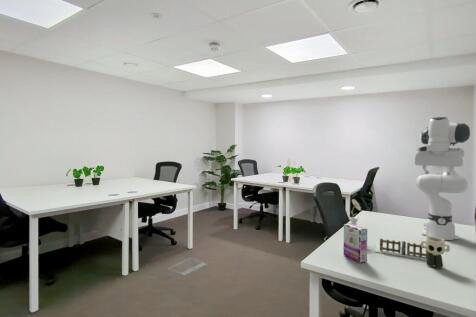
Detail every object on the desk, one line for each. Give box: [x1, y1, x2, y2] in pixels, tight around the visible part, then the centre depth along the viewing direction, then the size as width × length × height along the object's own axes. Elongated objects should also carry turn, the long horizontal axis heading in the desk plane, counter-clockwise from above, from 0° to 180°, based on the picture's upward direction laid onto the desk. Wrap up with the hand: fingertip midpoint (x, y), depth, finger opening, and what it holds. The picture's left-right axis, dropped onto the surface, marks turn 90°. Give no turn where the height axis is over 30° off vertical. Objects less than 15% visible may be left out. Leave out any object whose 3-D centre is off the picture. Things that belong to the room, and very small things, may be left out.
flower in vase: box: [342, 198, 362, 239], centre depth 161 cm, size 13×11×25 cm
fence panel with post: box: [401, 240, 429, 258], centre depth 138 cm, size 2×12×7 cm, turn 62°
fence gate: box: [379, 238, 402, 253], centre depth 143 cm, size 1×10×6 cm, turn 62°
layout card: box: [375, 242, 427, 261], centre depth 145 cm, size 15×25×1 cm, turn 62°
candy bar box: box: [343, 223, 368, 264], centre depth 135 cm, size 11×5×16 cm, turn 21°
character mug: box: [420, 236, 451, 269], centre depth 126 cm, size 11×7×13 cm, turn 57°
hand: (437, 174), depth 140 cm, fingers open, 8 cm apart
